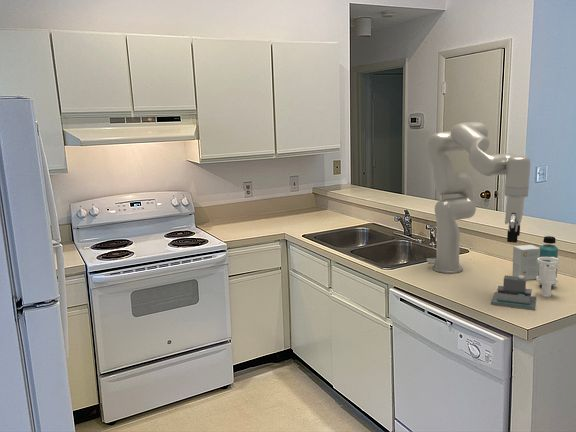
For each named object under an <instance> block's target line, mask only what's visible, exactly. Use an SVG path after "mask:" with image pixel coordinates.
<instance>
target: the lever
mask: <svg viewBox="0 0 576 432" xmlns="http://www.w3.org/2000/svg"><path fill="white" fill-rule="evenodd" d="M526 284H527V280H526V277H524V276H523V275H518V277H516V276H512V275H504V277H503V285H497V291H496V292H498V291H503V293H510V294H518V293H519V294H529V295H531V296H532V292H533V289H532V288H527V285H526Z"/></svg>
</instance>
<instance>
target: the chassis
mask: <svg viewBox="0 0 576 432" xmlns="http://www.w3.org/2000/svg"><path fill="white" fill-rule="evenodd" d="M491 304H493V306H498V305H501V306H500V307H506V306H507V308H514V307H515V309H521V308H522V309H521V310H523V309H524V310H528V311H529V310H531V311H535V310H536V304H537V296H534V295H533V296H532V294H531V295H529V294H519V293H518V294H510V293H503V291H494V294H493V297H492V299H491V303H490V305H491Z"/></svg>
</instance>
